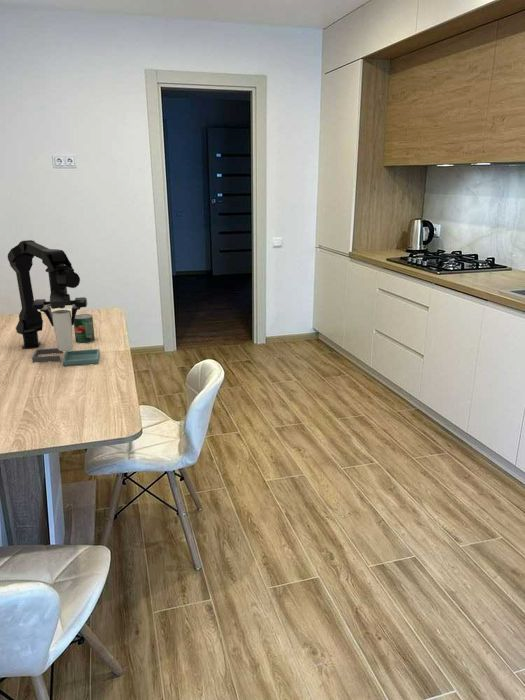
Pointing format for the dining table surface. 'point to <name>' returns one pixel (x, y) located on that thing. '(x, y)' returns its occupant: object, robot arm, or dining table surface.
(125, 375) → the dining table surface
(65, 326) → the drinking glass
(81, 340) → the canned tomato
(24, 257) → the robot arm
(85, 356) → the tray
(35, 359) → the dock
